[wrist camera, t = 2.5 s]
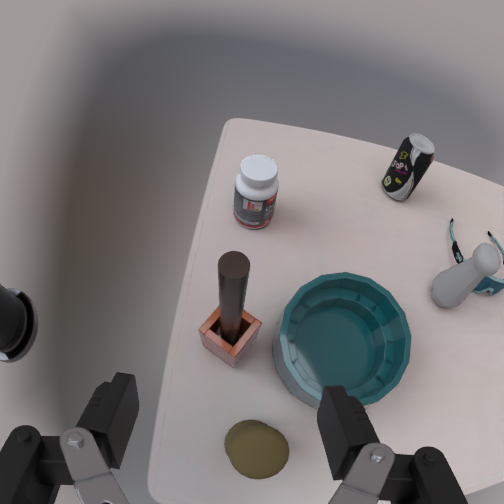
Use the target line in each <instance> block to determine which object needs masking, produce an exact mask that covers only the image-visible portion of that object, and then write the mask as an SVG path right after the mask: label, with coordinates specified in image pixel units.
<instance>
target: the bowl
mask: <svg viewBox="0 0 504 504" xmlns="http://www.w3.org/2000/svg"><path fill="white" fill-rule="evenodd" d="M410 346H411V334H410V330H409V327H408V323H407V320H406V316H405V313H404V311H403V310H402V308H401V307H400V306H399V304H398V303H397V301H396V300H395V299H394V297H393V296H392V295H391V293H390V292H389V291H388V290H386V289H385V288H383V287H382V286H380V285H379V284H377V283H376V282H375V281H373V280H372V279H370V278H367V277H363V276H359V275H355V274H351V273H348V272H343V273H335V274H327V275H321V276H319V277H317V278H316V279H314V280H312V281H311V282H309V283H307V284H305V285H304V286H302V287H300V289H299V290H298V291H297V293H296V294H295V295H294V297H293V298H292V299H291V301H290V302H289V304H288V305H287V306H286V308H285V310H284V311H283V313H282V315H281V317H280V319H279V321H278V323H277V328H276V332H275V336H274V340H273V345H272V349H273V355H274V360H275V366H276V371H277V373H278V374H279V376H280V378H281V379H282V381H283V382H284V384H285V385H286V387H287V388H288V390H289V391H290V393H292V394H293V395H295V396H296V397H298V398H299V399H301V400H302V401H304V402H305V403H307V404H308V405H310V406H312V407H316V408H319V405H320V401H321V397H322V394H323V390H324V387H325V386H335V385H343V386H344V388H345V391H346V393H347V395H348V396H355V397H356V398H357V399H358V400H359V401H360V402H361V403H362V405H363V406H364V405H367V404H371V403H374V402H377V401H379V400H380V399H382V398H383V397H384V396H385V395H386V394H387V393H389V392H390V391H391V390H392V389H393V388H394V387H396V386H397V385H398V383H399V381H400V379H401V377H402V375H403V373H404V371H405V369H406V367H407V365H408V363H409V358H410Z"/></svg>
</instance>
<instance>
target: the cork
mask: <svg viewBox="0 0 504 504" xmlns="http://www.w3.org/2000/svg"><path fill="white" fill-rule="evenodd" d="M224 445H225V450H226V453H227V455H228V456H229V458H230V461H231V463H232V465H233V466H234V468H235V469H236V470H237V471H238V472H239V473H240V474H241V475H244V476H246V477H248V478H252V479H265V478H269V477H272V476H274V475H276V474H277V473H278V472H280V471H281V470H282V469H283V468H284V466H285V464H286V462H287V461H288V456H289V447H288V442H287V441H286V439H285V437H284V436H283V435H282V434H281V433H280V432H279V431H278V430H276V429H274V428H272V427H270V426H268V425H267V424H265V423H263V422H260V421H256V420H246V421H241V422H239V423H237V424H235V425H234V426H233V427H232V428H231V429H230V430H229V431H228V433H227V435H226V438H225V443H224Z"/></svg>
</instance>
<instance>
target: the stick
mask: <svg viewBox="0 0 504 504" xmlns="http://www.w3.org/2000/svg"><path fill="white" fill-rule="evenodd" d="M249 271H250V262H249V259H248V258H247V257H246V256H245V255H244V254H243V253H241V252H237V251H230V252H227V253H225V254H224V255H222V256H221V258H220V259H219V262H218V280H219V307H220V330H221V338H222V339H223V340H225V341H226V342H227V343H229V344H230V345H231V346H234V345H235V344H236V343H237V341H238V339H239V332H240V326H241V320H242V314H243V308H244V302H245V295H246V289H247V283H248V277H249Z"/></svg>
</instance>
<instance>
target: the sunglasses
mask: <svg viewBox="0 0 504 504" xmlns="http://www.w3.org/2000/svg"><path fill="white" fill-rule="evenodd" d="M452 225H453V218H452V220H451V225H450V238H451V240H452V242H453V245H452V251H453V254H454V257H455V259H456V262H457V263H458V264H459V263H461V262H463V261H465V260H467V259H465V258H463V256H462V255H461V252H460V250H459V248H458V245H457V241H456V240H455V238H454V235H453V229H452ZM488 235H489V236H490V238H491V239H492V240H493V241H494V243H495V244H496V245H497V247H498V248H499V250H500V252H501V253H502V256H503V259H504V250H503V249H502V247H501V246H500V244H499V243H498V241H497V240H496V239H495V238H494V237H493V236H492V234H491V233H490V232H489V231H488ZM503 264H504V260H503ZM503 288H504V279H499V278H495V277H493V276H487V277H486V276H485V277H484V278H483V279H482V280H481V282H480V283H479V284H478V285H477V286H476V287H475V288H474V289H473V292H477V293H482V292H485V291H487V293H488V292H489V291H490V292H489V295H490V296H492V295H493V294H495V293H497V292H498V291H500V290H501V289H503Z"/></svg>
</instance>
